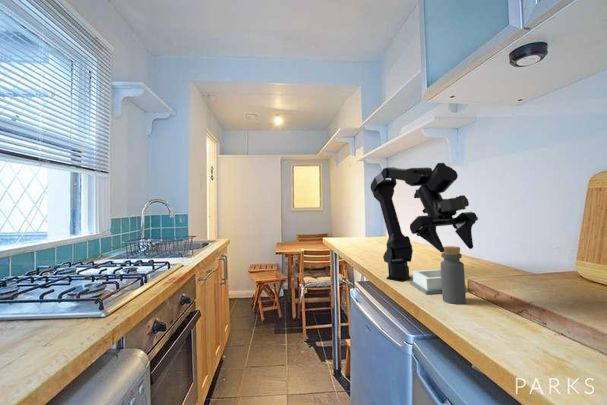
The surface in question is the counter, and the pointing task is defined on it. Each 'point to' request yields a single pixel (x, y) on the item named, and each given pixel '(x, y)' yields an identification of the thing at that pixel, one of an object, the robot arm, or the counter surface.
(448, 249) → the bottle
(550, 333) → the counter surface
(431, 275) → the holder
